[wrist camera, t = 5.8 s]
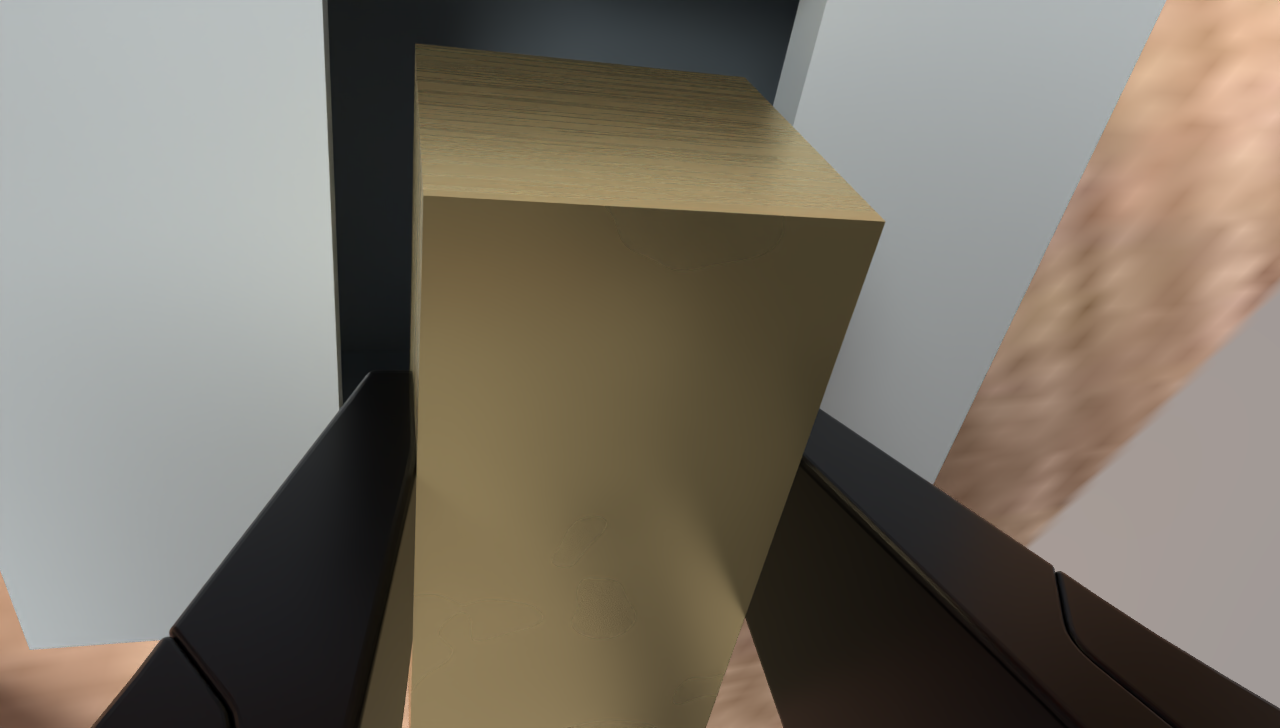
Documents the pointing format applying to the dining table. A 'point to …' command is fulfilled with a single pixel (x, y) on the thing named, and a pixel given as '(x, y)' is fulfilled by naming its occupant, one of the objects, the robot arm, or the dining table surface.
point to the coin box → (382, 234)
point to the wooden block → (607, 378)
